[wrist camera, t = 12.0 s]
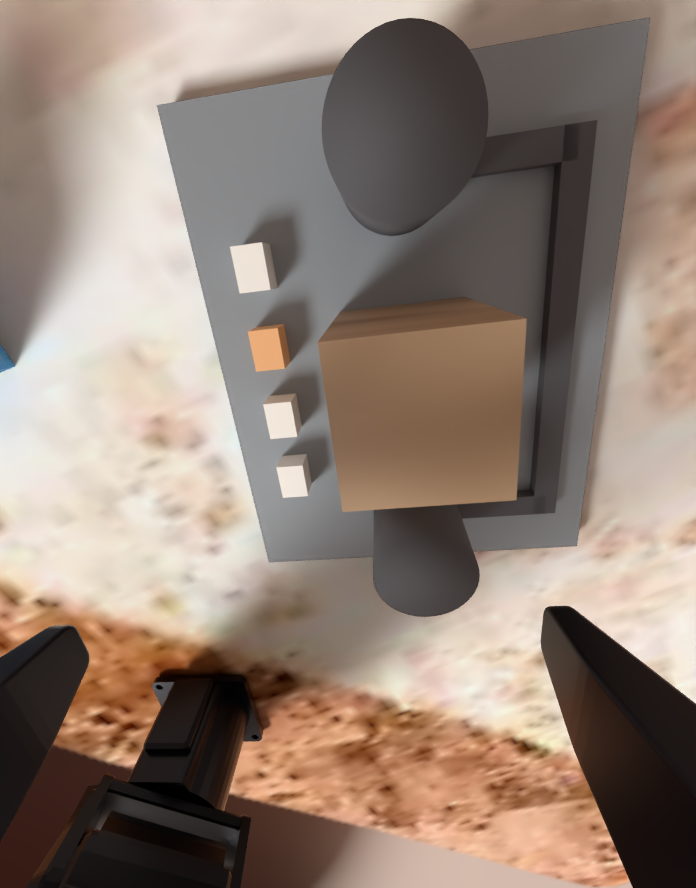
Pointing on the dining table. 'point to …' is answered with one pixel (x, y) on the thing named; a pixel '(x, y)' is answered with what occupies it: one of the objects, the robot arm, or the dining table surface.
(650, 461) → the dining table surface
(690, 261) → the dining table surface
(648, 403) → the dining table surface
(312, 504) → the panel
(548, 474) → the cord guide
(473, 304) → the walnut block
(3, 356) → the perfume bottle
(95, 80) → the dining table surface
